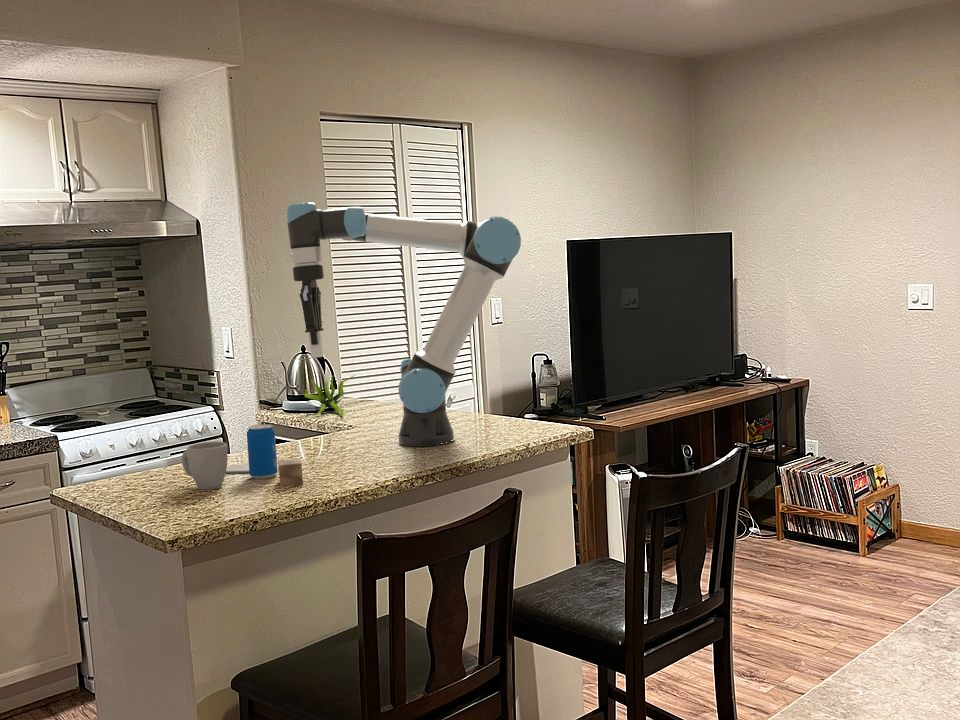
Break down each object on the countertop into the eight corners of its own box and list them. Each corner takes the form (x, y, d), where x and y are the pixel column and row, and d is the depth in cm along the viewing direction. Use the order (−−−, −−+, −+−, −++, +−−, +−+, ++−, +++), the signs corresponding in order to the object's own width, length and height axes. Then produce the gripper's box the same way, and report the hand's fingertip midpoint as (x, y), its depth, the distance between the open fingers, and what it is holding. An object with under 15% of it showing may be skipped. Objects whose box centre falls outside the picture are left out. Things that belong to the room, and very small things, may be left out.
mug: (238, 483, 211) (235, 442, 210) (210, 492, 203) (207, 449, 202) (198, 480, 217) (195, 440, 216) (170, 489, 209) (167, 447, 208)
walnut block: (301, 480, 212) (300, 459, 211) (302, 485, 207) (301, 463, 207) (279, 482, 211) (278, 461, 210) (280, 487, 206) (278, 465, 205)
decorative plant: (293, 423, 297) (289, 377, 296) (322, 408, 327) (319, 367, 325) (346, 421, 295) (343, 376, 293) (371, 407, 324) (368, 365, 322)
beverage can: (270, 479, 214) (267, 428, 213) (245, 479, 215) (241, 428, 214) (282, 473, 220) (278, 423, 219) (256, 473, 221) (253, 424, 220)
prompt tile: (267, 465, 231) (267, 462, 230) (255, 473, 221) (255, 470, 221) (232, 466, 231) (232, 463, 231) (218, 474, 222) (218, 471, 222)
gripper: (299, 266, 240) (308, 355, 242) (286, 266, 227) (296, 361, 229) (327, 263, 239) (336, 353, 241) (316, 263, 226) (326, 358, 228)
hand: (317, 357), depth 235 cm, fingers closed
